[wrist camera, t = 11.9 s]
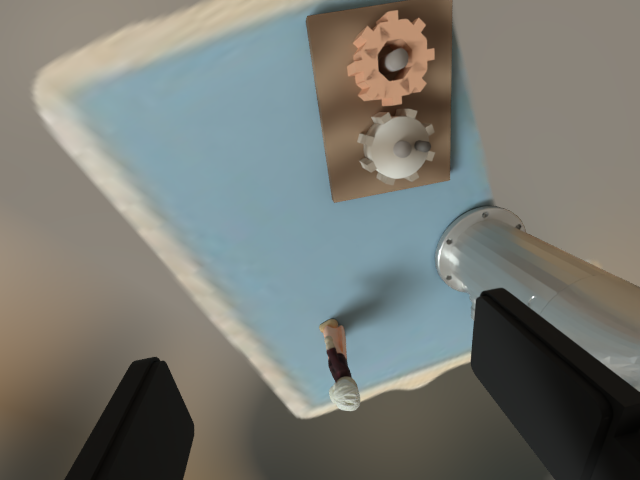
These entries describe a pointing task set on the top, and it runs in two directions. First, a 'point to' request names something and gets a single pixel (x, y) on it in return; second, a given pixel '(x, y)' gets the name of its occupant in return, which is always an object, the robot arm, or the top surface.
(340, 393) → the grandmother figurine
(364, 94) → the terracotta gear
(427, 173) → the gear board
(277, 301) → the top surface
